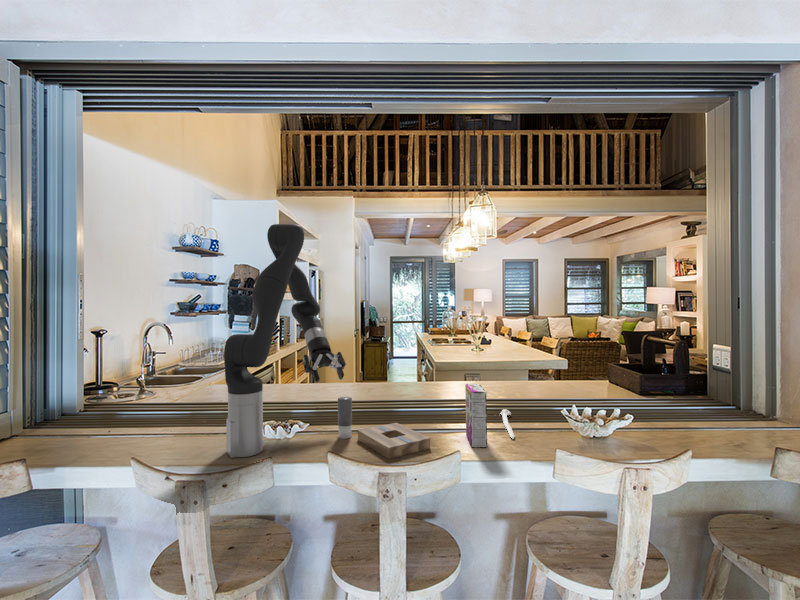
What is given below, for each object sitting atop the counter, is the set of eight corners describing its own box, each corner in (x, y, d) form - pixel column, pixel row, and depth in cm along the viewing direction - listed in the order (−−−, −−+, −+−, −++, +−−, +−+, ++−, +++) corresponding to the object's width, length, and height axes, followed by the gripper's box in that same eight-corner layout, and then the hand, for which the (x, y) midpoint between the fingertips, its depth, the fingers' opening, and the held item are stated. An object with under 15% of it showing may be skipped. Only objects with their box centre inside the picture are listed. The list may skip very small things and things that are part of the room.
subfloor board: (388, 458, 111) (388, 447, 111) (358, 440, 126) (358, 429, 126) (430, 448, 118) (430, 437, 118) (396, 431, 134) (396, 422, 134)
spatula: (523, 441, 125) (523, 432, 125) (509, 441, 125) (509, 432, 125) (510, 416, 153) (510, 408, 153) (499, 415, 153) (499, 408, 153)
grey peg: (341, 440, 126) (341, 400, 126) (335, 436, 130) (335, 398, 130) (354, 437, 128) (354, 399, 128) (348, 433, 132) (348, 396, 132)
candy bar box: (464, 435, 130) (464, 383, 130) (480, 435, 130) (480, 383, 130) (470, 448, 119) (470, 391, 119) (487, 448, 118) (487, 391, 118)
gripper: (300, 337, 142) (312, 375, 133) (338, 334, 150) (352, 370, 140) (295, 350, 147) (307, 388, 137) (332, 347, 154) (346, 383, 145)
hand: (330, 379), depth 139 cm, fingers open, 8 cm apart
